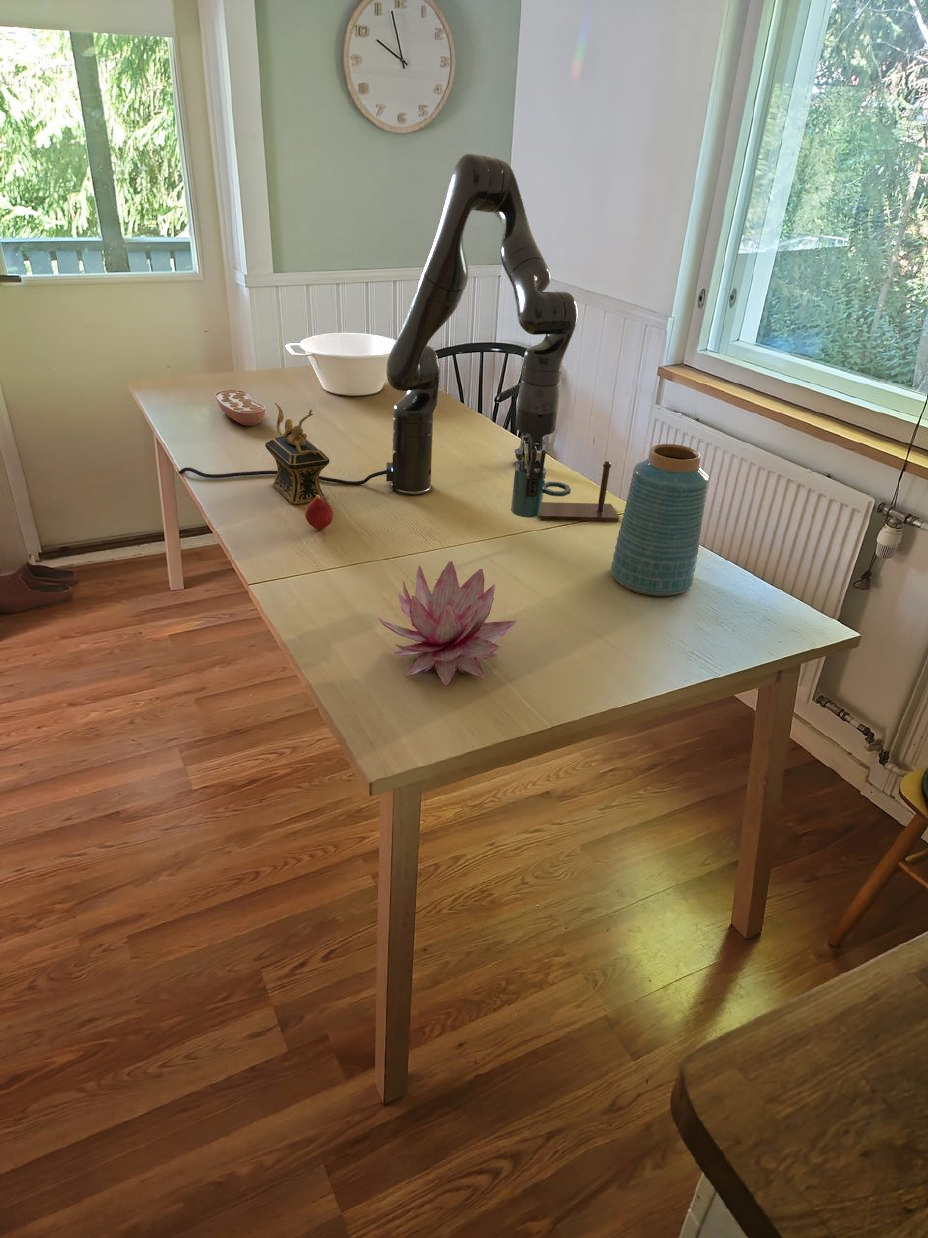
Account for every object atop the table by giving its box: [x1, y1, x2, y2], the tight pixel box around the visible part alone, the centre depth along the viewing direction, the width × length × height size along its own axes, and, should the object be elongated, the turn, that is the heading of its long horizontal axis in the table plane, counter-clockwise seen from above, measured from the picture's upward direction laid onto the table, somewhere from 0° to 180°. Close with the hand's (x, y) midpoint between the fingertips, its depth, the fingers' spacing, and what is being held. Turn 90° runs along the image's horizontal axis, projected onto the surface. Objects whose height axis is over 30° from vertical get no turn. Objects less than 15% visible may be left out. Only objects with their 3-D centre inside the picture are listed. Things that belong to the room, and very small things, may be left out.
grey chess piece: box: [513, 432, 523, 467], centre depth 217 cm, size 6×6×12 cm
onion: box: [304, 495, 334, 531], centre depth 177 cm, size 6×6×8 cm
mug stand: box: [538, 460, 620, 523], centre depth 191 cm, size 18×8×13 cm, turn 94°
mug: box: [510, 463, 572, 519], centre depth 165 cm, size 11×6×9 cm, turn 94°
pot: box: [285, 332, 396, 397], centre depth 268 cm, size 40×32×14 cm
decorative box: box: [264, 402, 330, 505], centre depth 192 cm, size 20×10×20 cm, turn 31°
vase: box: [610, 443, 710, 597], centre depth 161 cm, size 16×16×27 cm
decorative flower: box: [376, 560, 518, 686], centre depth 134 cm, size 21×21×15 cm
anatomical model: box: [214, 389, 266, 427], centre depth 238 cm, size 23×10×5 cm, turn 32°
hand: (528, 489), depth 165 cm, fingers closed on mug, 6 cm apart
